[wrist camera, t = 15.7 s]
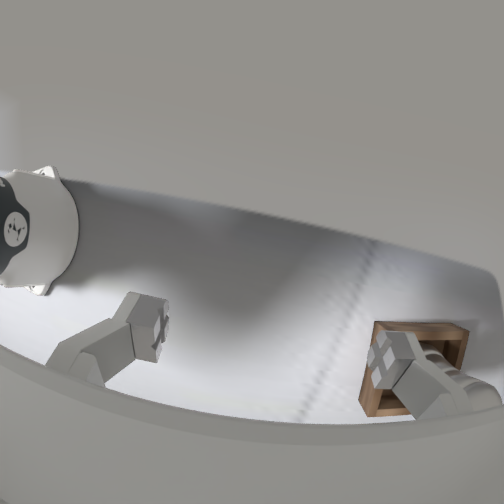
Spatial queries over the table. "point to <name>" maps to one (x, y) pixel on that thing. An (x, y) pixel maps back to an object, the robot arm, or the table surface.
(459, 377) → the plastic bottle
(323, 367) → the table surface
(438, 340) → the open wooden box
